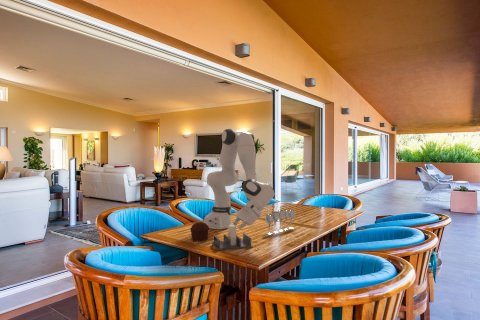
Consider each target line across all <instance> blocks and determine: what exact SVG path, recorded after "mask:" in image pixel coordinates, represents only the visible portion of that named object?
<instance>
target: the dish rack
mask: <svg viewBox="0 0 480 320" xmlns="http://www.w3.org/2000/svg"><path fill="white" fill-rule="evenodd" d="M212 245H213V246H214V247H215V248H216V250H217V251H218V252H219V251H221V252H222V251H228V250H229V251H230V250H240V249H241V250H242V249H252V248H253V245H252V237H251V236H249V235H248V234H246V233H245V232H243V233H242V238H241V237H240V236H238V235H237V234H236V245H231V239H230V238H228V235H227V234H225V233H224V234H223V240H220V238H218V236H216V235H215V234H213V241H212Z"/></svg>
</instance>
